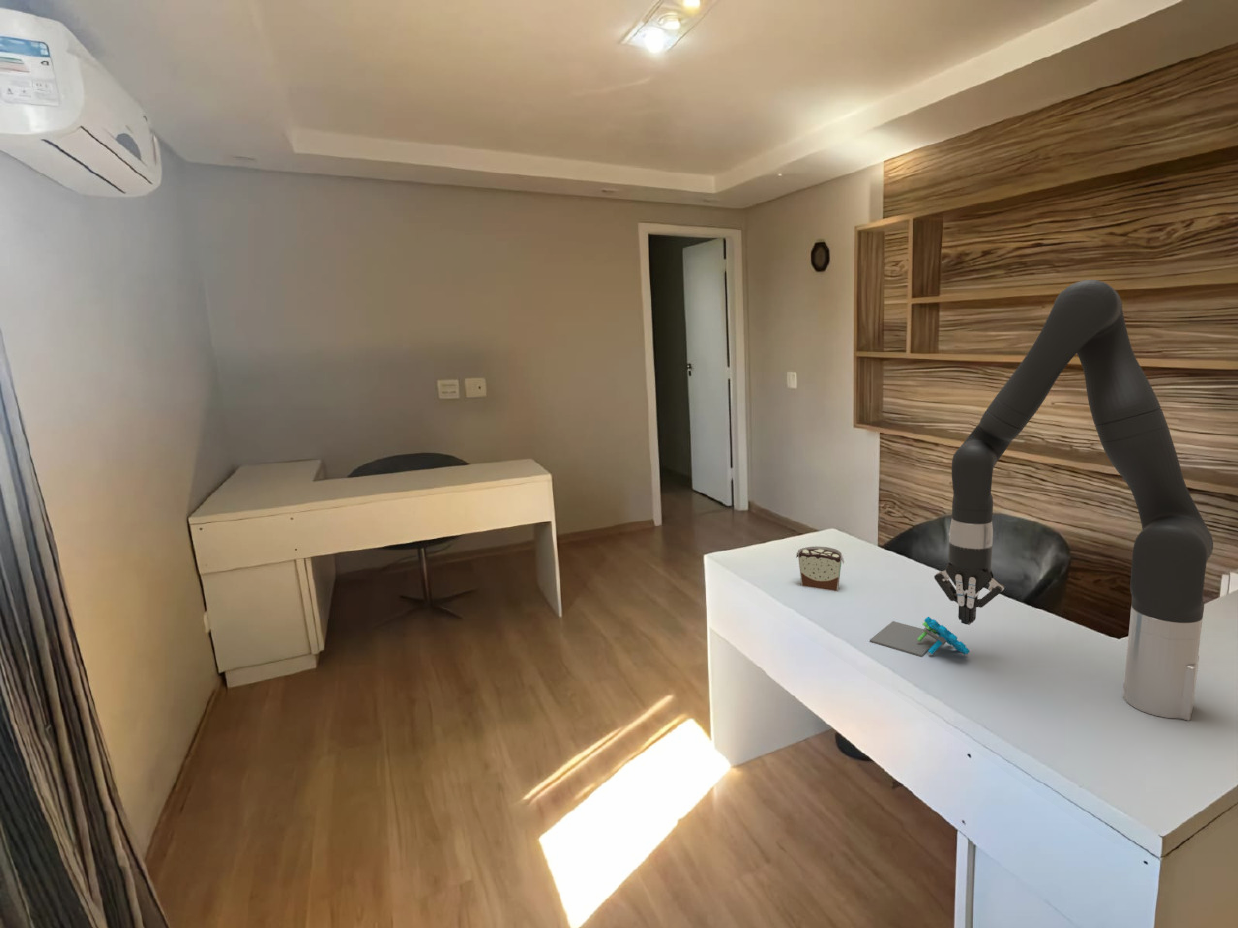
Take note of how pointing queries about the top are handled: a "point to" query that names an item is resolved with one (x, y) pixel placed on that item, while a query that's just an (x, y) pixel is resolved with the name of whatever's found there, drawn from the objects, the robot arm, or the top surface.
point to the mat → (904, 638)
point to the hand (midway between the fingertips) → (966, 622)
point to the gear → (941, 636)
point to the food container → (820, 567)
